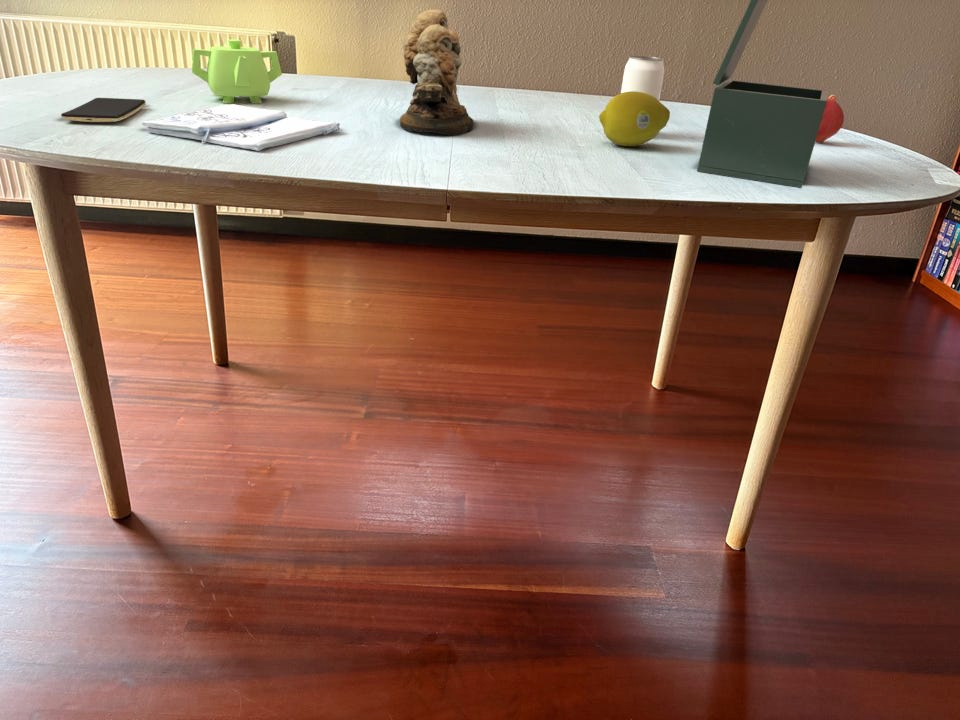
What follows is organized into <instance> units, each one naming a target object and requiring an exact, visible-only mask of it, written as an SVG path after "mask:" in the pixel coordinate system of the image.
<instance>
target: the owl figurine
mask: <svg viewBox="0 0 960 720" xmlns="http://www.w3.org/2000/svg"><path fill="white" fill-rule="evenodd" d="M459 38H460V37H459V34H457V32H456V31H454V30H451V29H449V25H448V17H447V15H446V14H445V12H444V11H443V10H441V9H439V8H436V9H435V8H433V9H432V8H430V9H427V10H425V11H422V12H421V13H420V14H418V15H417V16H416V17H415V19H414V21H413V22H412V24H411V27H410V32H409V33H408V34H407V35H406V36H405V38H404V40H403V45H402V46H403V60H404V66H405V72H406V74H407V76H409V78H410V79H409V83H410V84H412V85H414V89H413V92H412V95H411V96H412V99H411V100H410V102H409V106H408V108H407V110H406V111H405V112H404V113H402V114H401V116H400V118H399V125H400V127H401V128H402V129H403V130H406V131H408V132H414V131H415V132H416V133H418V134H420V133H421V132H422V133H424V132H428V133H429V132H430V133H431V132H433V133H437V134H441V135H444V136H458V135H461V134H464V133H467V132H470V131H472V130H473V127H474V119H473V118H472V117H471V116H470V115H469V113H468V110H467V108H466V107H465V105H463V104H461V103H460V101H459V96H458V93H457V92H458V91H457V90H458V87H457V82H458V75H459V69H460V67H461V66H462V62H463V61H462V57H461V53H462V52H461V51H462V50H461V48H462V47H461V44H460V39H459Z"/></svg>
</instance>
